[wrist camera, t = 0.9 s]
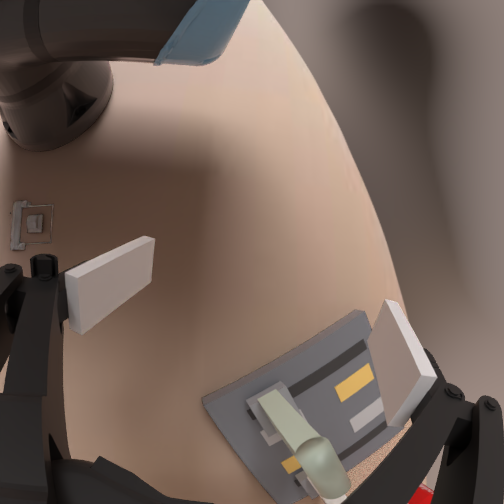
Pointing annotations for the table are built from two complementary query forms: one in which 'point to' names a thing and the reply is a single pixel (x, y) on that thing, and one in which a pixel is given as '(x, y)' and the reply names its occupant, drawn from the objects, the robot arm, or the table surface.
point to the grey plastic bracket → (32, 223)
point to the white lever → (313, 491)
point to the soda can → (422, 495)
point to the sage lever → (301, 440)
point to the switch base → (309, 405)
